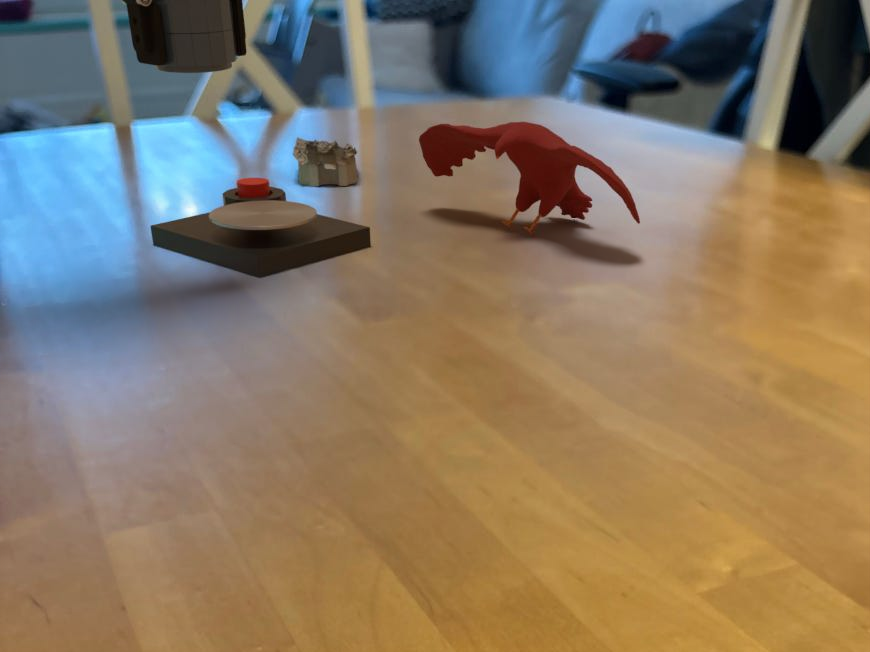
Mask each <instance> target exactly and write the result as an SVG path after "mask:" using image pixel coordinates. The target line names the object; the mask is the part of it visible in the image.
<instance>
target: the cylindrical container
mask: <svg viewBox="0 0 870 652" xmlns="http://www.w3.org/2000/svg"><path fill="white" fill-rule="evenodd" d="M152 5H156V6H159V8H160V10H161V16H162V23H163V31H164V38H165V45H166V52H167V59H168V61H167V63H166V65H162V66H156V65H155V67H156V70H157V71H158V72H159V71H160V72H163V73H174V74H202V73H214V72H222V71H226V70H229V69H232V67H233V63H235V62H237V60H238V56H237V48H236V39H235V30H234V20H233V11H232V1H231V0H152Z"/></svg>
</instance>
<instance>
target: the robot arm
mask: <svg viewBox="0 0 870 652" xmlns="http://www.w3.org/2000/svg"><path fill="white" fill-rule="evenodd" d="M231 1H232V11H233V20H234V30H235V39H236V48H237V57H243V56H246V55H247V43H246V42H247V41H246V38H247V35H246V34H247V33H246V24H245V15H244V7H243V5H244V4H243V0H231ZM119 2H120V3H121V4H123V5H126V11H127V17H128V23H129V29H130V35H131V42H132V47H133V49H134V51H135V54H136V59H137V61H138V63H140V64H143V65H149V66H150V65H151V66H155V67H156V66H162V65H166V63H167V61H168V59H167V52H166V45H165V38H164V31H163V23H162V16H161V10H160V8H159V6H156V5H152V0H119Z"/></svg>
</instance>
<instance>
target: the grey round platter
mask: <svg viewBox="0 0 870 652" xmlns="http://www.w3.org/2000/svg"><path fill="white" fill-rule="evenodd" d="M317 211H318V210H317V209H316V208H315V207H313V206H311V205H309V204H306V203H301V202H296V201H289V200H286V201H275V200H264V201H248V202H240V203H234V204H229V205H225V206H224V205H221V206H218V207H216V208H214V209H212V210H211V211H210V213H209V212H208V213H209V220H210V221H211V222H212V223H214V224H216V225H219V226H222V227H226V228H232V229H241V230H272V229H282V228H289V227H295V226H299V225H303V224H306V223H308V222H310V221H312V220H314V219H315V218H316V216H317V214H318V213H317Z"/></svg>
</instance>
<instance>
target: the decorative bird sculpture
mask: <svg viewBox="0 0 870 652" xmlns="http://www.w3.org/2000/svg"><path fill="white" fill-rule="evenodd" d="M418 141H419V147H420V150H421V153H422V158H423V159H424V161H425V164H426V166H427V168H428V169H429V170H430V171H431V173H432V175H433V176H434V177H437V178H438V177H444V176H445V177H454V170H453V169H452V167H455V168H456V167H457V168H461V167H463V165H464V164H463V163H464V162H463V161H464V159H468V160H470V161H473V160H474V159H475V158H476V156H477V155H476V152H478V153H485V152H486V151H487V149H490V150H493V151H494V154H495V155H494V156H495V159H496V160H499V159H500V158H501V157H502V156H503V154H506V156H507V157H508V159H509V160H510V161H511V162H512V163H513V165H514V166H515V167H516V169H517V170H518V172H519V175H520V178H519V185H518V192H517V195H516V197H515V211H514V212H513V213H512V215H511V217H510V219H509V220H508V222H507V221H505V220H501V221H499V223H500V222H501V223H503V224H504V225H505V226H507V227H508V228H509V229H510V230H512V227H511V225H512V223H513V221H514V220H515V218H516V217H517V215H518V214H519V212H520V213H524V212H526V211H527V210H529V209H530V208H531V207H532V206H533V205H534V204H536V203H538V202H539V201H540V202H539V205H538V214H537V216H536V217H535V219H534V221H533V222H532V224H531V225H530V227H528V226H522V228H524V229H525V230H526V231H528V232H529V233H531V234H530V235H531V237H533V236H534V234H533V230H534V229H535V227H536V225H537V224H538V222H539V220H540V219H541V218H545V217H547V216H549V214H550V213H551V212H552V211H553V210H554V209H555V208H556V207H558V208H559V209H560V211H561V213H560V214H561V215H562V216H569V217H570V218H571V219H572V218H577V219H579V220H582V221H584V220H586V216H585V215H584V214H587V213H589V212H590V210H589V209H592V208H593V203H592V202H593V198H592V197H591V196H589V195H588V194H585V193H584V192H583V191H582V189H581V188H580V187H579V185H578V183H577V181H576V169H577V167H578V166H580V167H583V168H586V169H589V170H590V171H592V172H593V173H594V174H596V175H597V176H598V177H600V178H601V179H602V180H603V181H604V182H605V183H606V184H607V185H608V186H609V187H610V188H611V189H612V191H614V192H615V193H616V194H617V195H618V197H620V198H621V200H622V201H623V203H624V204H625V207H626V208H627V210H628V211H629V212H630V215H631V217H632V219H633V220H634V221H635V222H636V223H637V224H638V225H640V224H641V221H640V216H639V212H638V209H637V206H636V202H635V201H634V197H633V195H632V192H631V191H630V189H629V188H628V187H627V186H626V183H625V182H624V181H623V179H621V178H620V176H618V174H616V172H615V170H613V169H612V167H611V166H608V165H607V164H606V163H605V162H603V161H602V160H601V159H599V158H597V157H595V156H593V155H592V154H590V153H588V152H587V151H585V150H584V149H582V148H580V147H578V146H575V145H571V144H570V143H568V142H567V141H566V140H565V139H563V138H562V137H561V136H560V135H558V134H556V133H554V131H552V130H550V129H549V128H548V127H546V126H544V125H542V124H539V123H534V122H528V121H509V122H507V123H502V124H498V125H496V126H491V127H485V128H483V127H474V126H470V125H464V124H463V125H452V124H450V123H439V124H435V125H432V126H430V127H428V128H427V129H426V130H425V131H423V133H422V134H420V135H419V138H418Z"/></svg>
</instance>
